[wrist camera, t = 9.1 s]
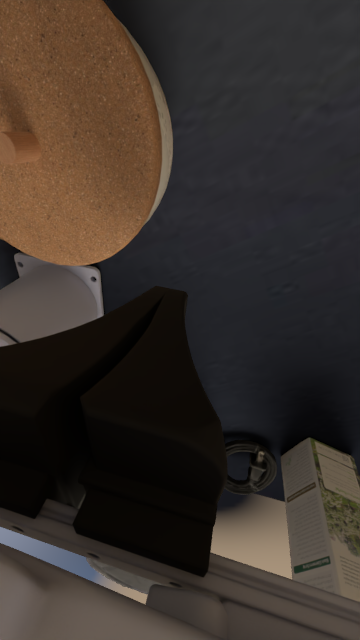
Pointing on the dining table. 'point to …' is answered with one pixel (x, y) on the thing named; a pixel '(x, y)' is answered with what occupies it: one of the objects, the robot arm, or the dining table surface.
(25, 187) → the trinket box
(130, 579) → the milk frother
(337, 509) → the syrup box
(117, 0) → the dining table surface
